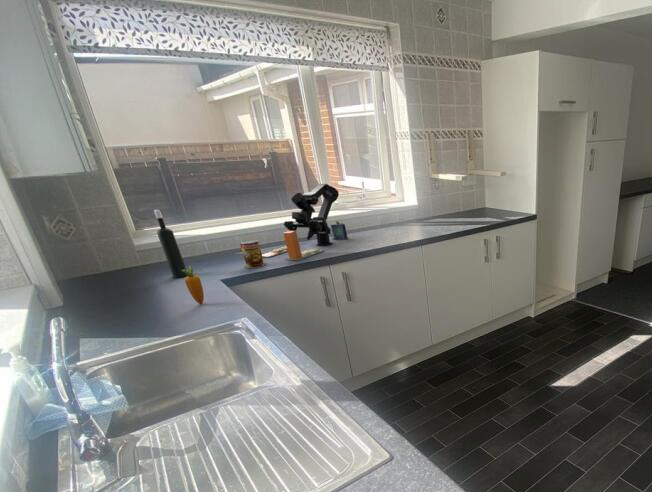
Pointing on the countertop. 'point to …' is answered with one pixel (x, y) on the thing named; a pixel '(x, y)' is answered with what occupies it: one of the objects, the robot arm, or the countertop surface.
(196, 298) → the carrot
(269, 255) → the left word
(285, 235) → the orange rectangular block
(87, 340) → the countertop surface
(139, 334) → the countertop surface
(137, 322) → the countertop surface
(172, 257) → the wine bottle
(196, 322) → the countertop surface
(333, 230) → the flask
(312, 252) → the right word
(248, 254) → the canned food
